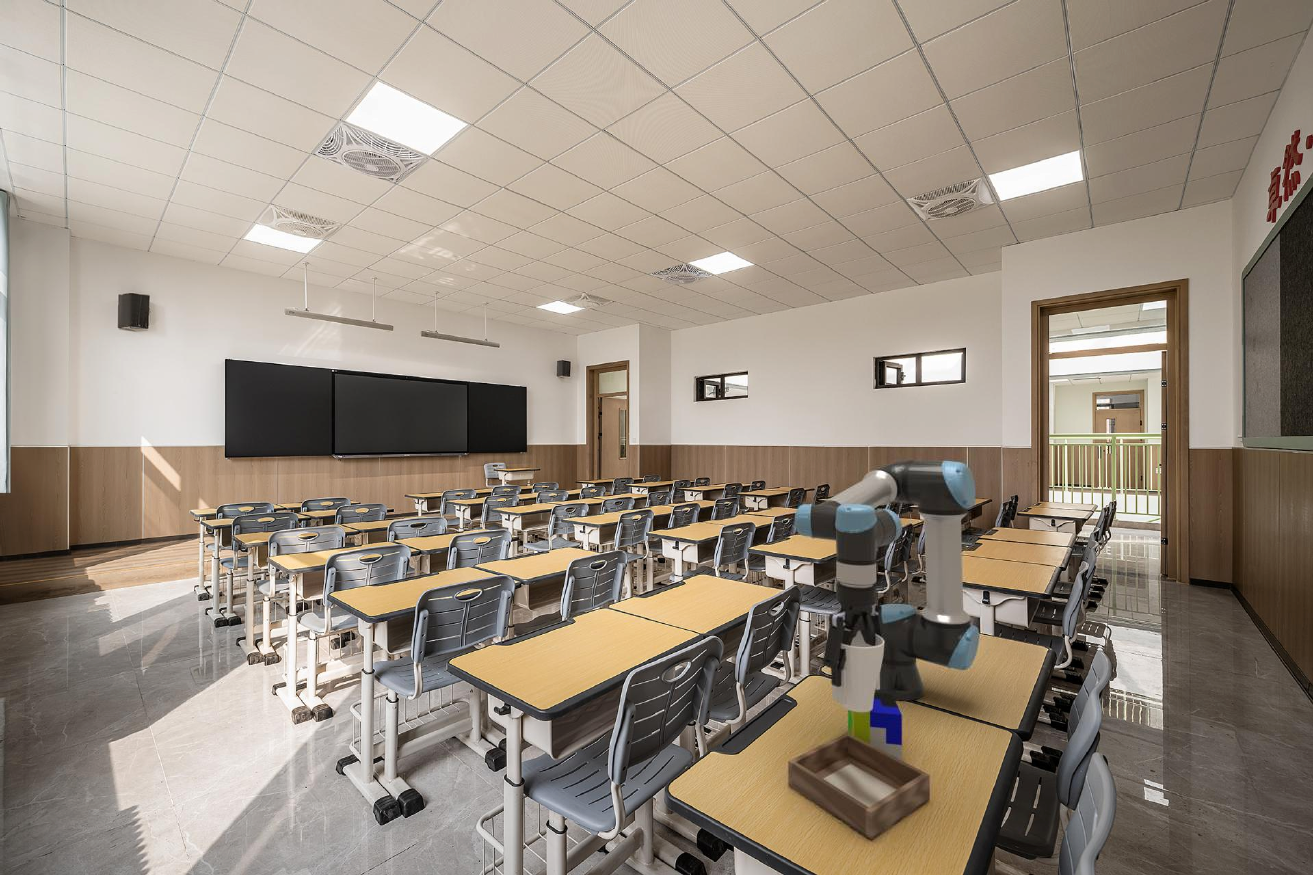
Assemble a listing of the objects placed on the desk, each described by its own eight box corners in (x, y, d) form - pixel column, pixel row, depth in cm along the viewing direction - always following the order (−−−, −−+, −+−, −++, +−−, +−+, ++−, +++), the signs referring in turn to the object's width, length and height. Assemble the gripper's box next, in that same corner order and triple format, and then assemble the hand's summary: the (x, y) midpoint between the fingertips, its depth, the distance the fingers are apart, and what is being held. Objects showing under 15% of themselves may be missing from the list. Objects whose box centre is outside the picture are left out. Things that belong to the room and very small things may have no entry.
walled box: (847, 754, 124) (846, 732, 124) (929, 800, 108) (929, 774, 108) (788, 785, 113) (788, 760, 113) (870, 840, 97) (870, 812, 97)
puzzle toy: (902, 760, 122) (901, 714, 122) (854, 755, 124) (854, 710, 124) (892, 736, 132) (892, 694, 132) (848, 731, 134) (847, 690, 134)
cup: (879, 723, 103) (879, 651, 103) (822, 709, 109) (822, 641, 109) (889, 701, 112) (888, 634, 112) (836, 688, 118) (836, 625, 118)
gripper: (873, 571, 120) (874, 673, 120) (802, 587, 107) (803, 702, 107) (905, 578, 114) (906, 686, 114) (835, 596, 101) (835, 718, 101)
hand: (856, 693), depth 111 cm, fingers closed on cup, 10 cm apart
